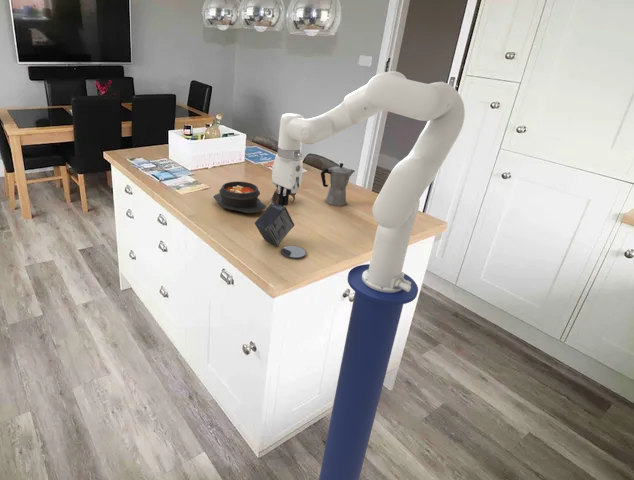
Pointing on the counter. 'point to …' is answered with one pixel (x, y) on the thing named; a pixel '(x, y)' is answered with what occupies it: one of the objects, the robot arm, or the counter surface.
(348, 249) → the counter surface
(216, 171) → the counter surface
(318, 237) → the counter surface
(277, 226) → the small box
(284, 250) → the slate coaster
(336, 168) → the coffeepot
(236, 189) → the casserole
